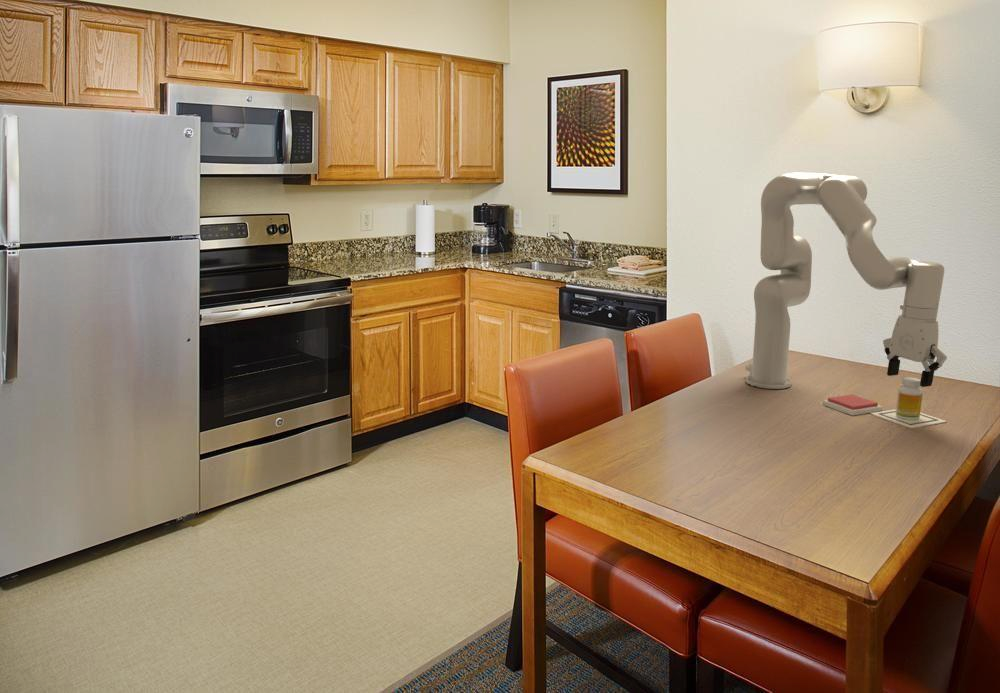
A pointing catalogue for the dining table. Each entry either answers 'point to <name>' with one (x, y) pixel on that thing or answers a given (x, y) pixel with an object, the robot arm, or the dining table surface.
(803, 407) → the dining table surface
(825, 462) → the dining table surface
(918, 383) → the supplement bottle
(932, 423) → the marked sheet
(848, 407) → the ink pad
